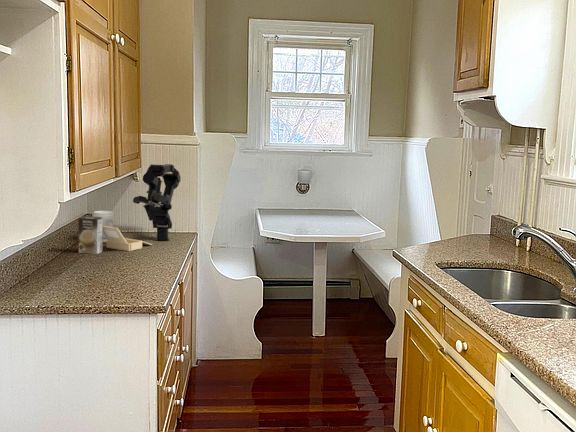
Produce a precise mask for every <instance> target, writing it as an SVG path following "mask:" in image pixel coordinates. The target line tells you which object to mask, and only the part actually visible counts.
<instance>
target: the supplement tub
mask: <svg viewBox="0 0 576 432" xmlns="http://www.w3.org/2000/svg"><path fill="white" fill-rule="evenodd" d="M92 217H102V226H108V227H114V212H113V211H112V210H96V211H93V216H92ZM102 243H107V239H106V237H105V236H104V234H103V233H102Z"/></svg>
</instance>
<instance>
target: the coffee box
mask: <svg viewBox="0 0 576 432" xmlns="http://www.w3.org/2000/svg"><path fill="white" fill-rule="evenodd" d="M102 252H103V242H102V217H93V216H89V215H88V216H86V215H84V216H81V217H78V254H93V255H94V254H95V255H98V254H101V253H102Z"/></svg>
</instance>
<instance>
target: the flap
mask: <svg viewBox="0 0 576 432" xmlns="http://www.w3.org/2000/svg"><path fill="white" fill-rule="evenodd" d="M102 233H103V234H104V236H105V237H106V239H107V240H108V241H114V242H120V243H127V242H126V240H125V239H124V238H125V237H124V235H123V234H122V233H121V231H120V229H119V228H118V227H114V226H113V227H108V226H102Z"/></svg>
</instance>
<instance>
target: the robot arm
mask: <svg viewBox="0 0 576 432" xmlns="http://www.w3.org/2000/svg"><path fill="white" fill-rule="evenodd" d="M161 178H162V179H163V181H162V179H161ZM142 181H143V183H145V184H146V185H147V186H148V190H146V194H147V197H146V196H143V195H137V196H134V197H133V198H132V203H134V204H137V205H139V204H140V203H142V204H143V205H142V206H143V208H144V209H145V212H146V215H147V217H148V220H149V221H150V222H151V221H152V222H151V223H152V228H153V229H156V238H155V241H158V242H160V241H165V242H166V241H168V242H169V241H170V237H169V230H171V229H172V228H173V221H172V220H171V219H172V218H171V216H170V214H169V211H170V210H172V207H173V206H172V204H171V202H172V199H173V195H174V192H175V190H176V189H177V188H178V187H179V184H180V183H181V175H180V172H179V170H177V169H176V168H175V165H174V164H167V163H165V164H150V165H149V166H148V168H147V170H146V173H144V174H143V176H142ZM162 183H163V184H164V186H165V187H164V190H163V192H162V191H161V188H162Z"/></svg>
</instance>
